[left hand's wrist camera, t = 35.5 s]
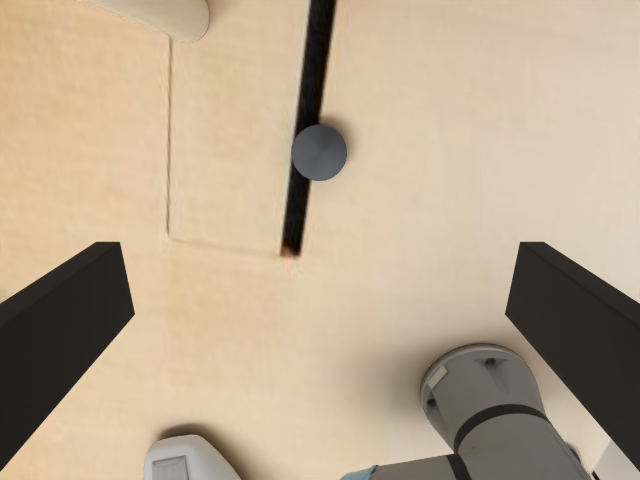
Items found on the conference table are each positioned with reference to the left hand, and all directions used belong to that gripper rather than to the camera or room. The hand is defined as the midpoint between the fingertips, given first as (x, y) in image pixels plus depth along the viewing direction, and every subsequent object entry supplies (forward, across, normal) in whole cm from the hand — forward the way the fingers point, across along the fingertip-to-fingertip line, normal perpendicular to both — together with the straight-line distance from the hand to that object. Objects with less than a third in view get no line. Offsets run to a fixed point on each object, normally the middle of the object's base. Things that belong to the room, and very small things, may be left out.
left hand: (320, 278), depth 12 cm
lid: (+28, 0, 0) cm, 28 cm away
